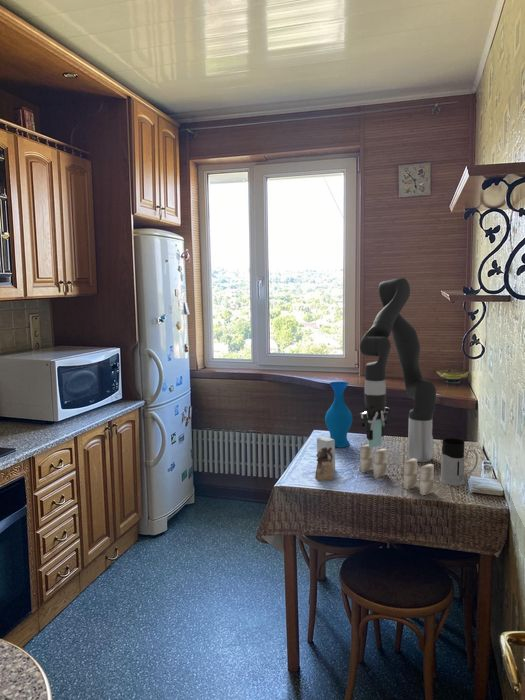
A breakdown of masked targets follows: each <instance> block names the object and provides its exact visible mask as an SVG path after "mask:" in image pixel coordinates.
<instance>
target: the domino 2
mask: <svg viewBox="0 0 525 700" xmlns="http://www.w3.org/2000/svg"><path fill="white" fill-rule="evenodd" d="M369 421H372V420H370V419H369ZM369 426H370V423H369ZM372 430H373V440H368V444H369V447H371V448H373V449H374V448H375V447H379V446H382V443H383V442H382V440H383V437H382V424H381V418H380V419H379V420H378V419H377V420H376V422H375V424H374V425H373V429H372Z"/></svg>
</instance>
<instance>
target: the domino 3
mask: <svg viewBox="0 0 525 700" xmlns="http://www.w3.org/2000/svg"><path fill="white" fill-rule="evenodd" d="M373 451H374V452H373V454H374V455H373V477H374V478H376V479H378V478H381V477H383V476H386V475H387V457H388V456H387V455H388V454H387V451H388V450H387V449H386V448H380V449H376V450H373Z"/></svg>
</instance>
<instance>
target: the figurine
mask: <svg viewBox="0 0 525 700" xmlns="http://www.w3.org/2000/svg"><path fill="white" fill-rule="evenodd" d="M331 450H332V448H331V447H330V448H329V449H328V450H327V448H326V447H325V446H324V447H322V448H321V449H320V450H319V452H318V454H317V453H316V455H315V456H316V457H317V458H316V462H317V461H318V462H317V464H316V467H315V468H316V469H315V475H314V477H315V480H317V481H320V482H330V481H333V480H334V478H335V469H334V468H333V463H332V459H333V455H332V453H331V452H330V451H331ZM328 455H329V456H330V457H331V459H330V458H329V457H328Z"/></svg>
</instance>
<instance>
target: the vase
mask: <svg viewBox="0 0 525 700" xmlns="http://www.w3.org/2000/svg"><path fill="white" fill-rule="evenodd" d="M329 385H330V386H331V388H332V389H333V392H334V393H333V394H334V399H333V402H332V403H331V406H330V407H329V408H328V410H327V411H326V413H325V417H324V422H325V425H326V428H327V429H328V431H329V435H330V436H329V438H331V439H334V440H335V448H346V447H349V446H350V441H349V440H348V433H349V431H350V429H351V427H352V425H353V424H352V423H353V414H352V412H351V411H350V409H349V408H348V406H347V405H346V403H345V399H344V392H345V389H346V388H347V386H349V382H347V381H331V382H329Z"/></svg>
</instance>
